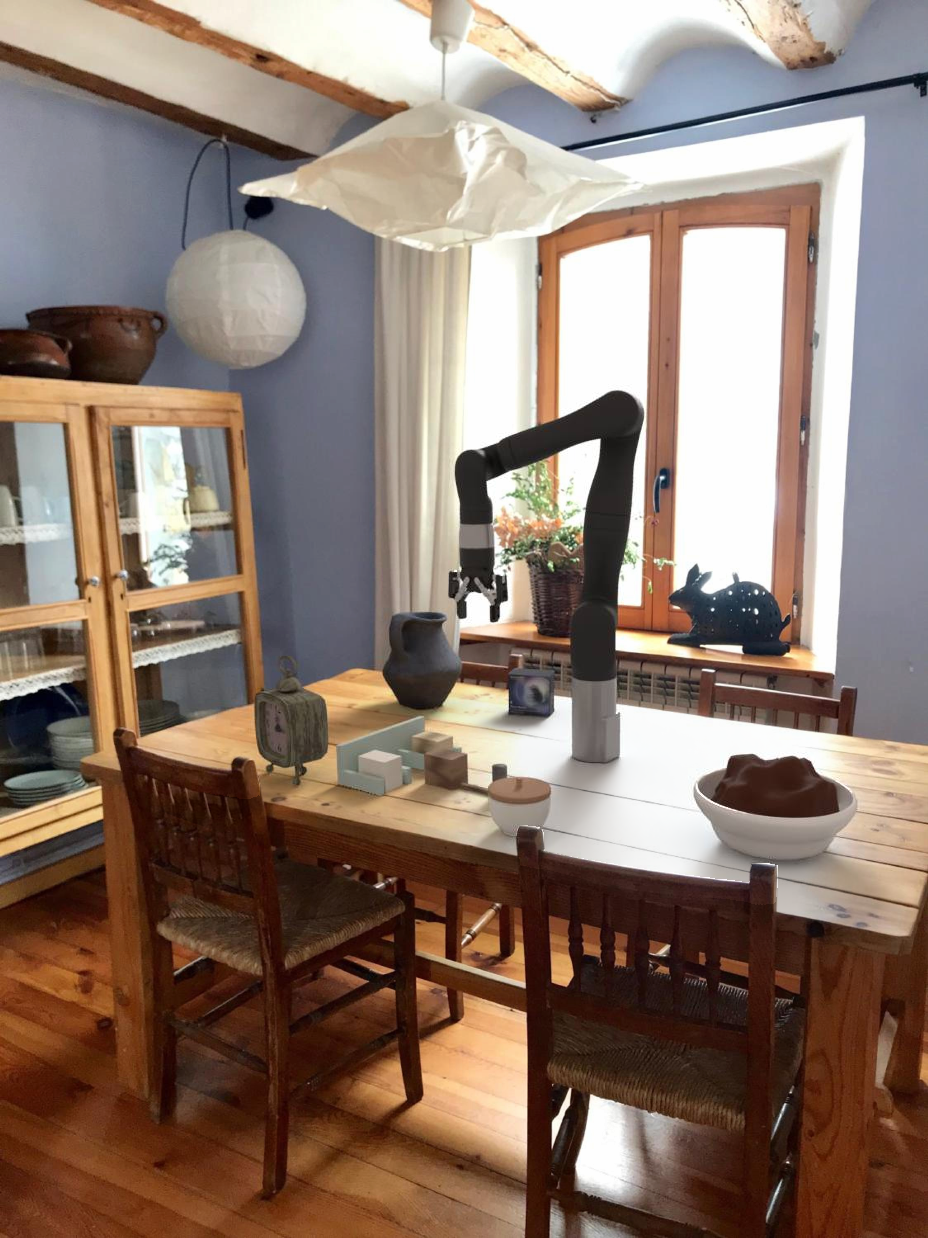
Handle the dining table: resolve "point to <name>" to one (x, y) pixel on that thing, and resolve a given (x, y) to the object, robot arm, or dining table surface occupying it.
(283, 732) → the tabletop clock
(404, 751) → the lane shelf
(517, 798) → the lidded jar
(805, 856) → the bowl of brown mass
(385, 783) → the cream block
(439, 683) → the pitcher
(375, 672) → the dining table surface
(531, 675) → the small box
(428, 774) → the tow block
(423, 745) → the oak block
